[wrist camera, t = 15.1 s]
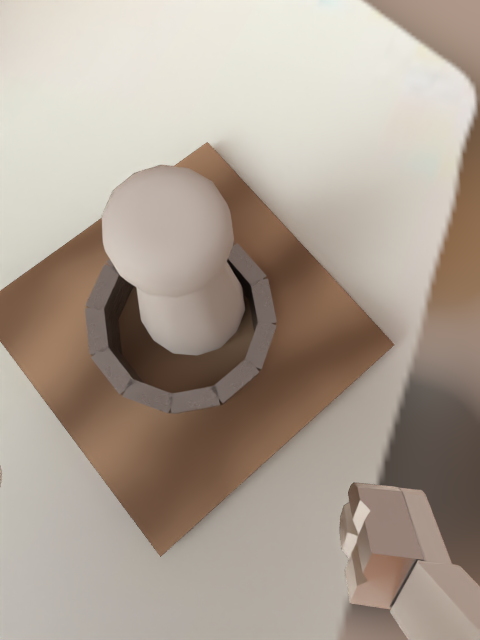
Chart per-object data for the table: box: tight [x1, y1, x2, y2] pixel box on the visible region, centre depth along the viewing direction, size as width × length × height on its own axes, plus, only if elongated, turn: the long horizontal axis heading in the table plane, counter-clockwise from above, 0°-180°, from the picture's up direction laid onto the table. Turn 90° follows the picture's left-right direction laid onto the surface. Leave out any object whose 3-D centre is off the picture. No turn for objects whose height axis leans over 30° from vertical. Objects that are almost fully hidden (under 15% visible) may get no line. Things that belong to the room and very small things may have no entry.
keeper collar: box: [85, 241, 277, 414], centre depth 24 cm, size 10×10×3 cm
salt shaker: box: [102, 165, 245, 356], centre depth 19 cm, size 6×6×13 cm
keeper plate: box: [0, 142, 394, 557], centre depth 26 cm, size 18×18×1 cm
